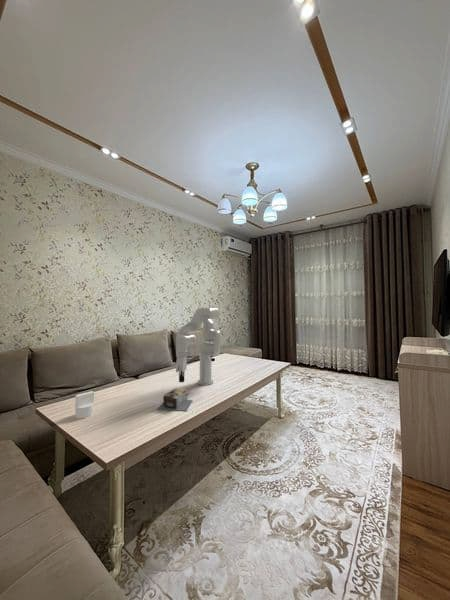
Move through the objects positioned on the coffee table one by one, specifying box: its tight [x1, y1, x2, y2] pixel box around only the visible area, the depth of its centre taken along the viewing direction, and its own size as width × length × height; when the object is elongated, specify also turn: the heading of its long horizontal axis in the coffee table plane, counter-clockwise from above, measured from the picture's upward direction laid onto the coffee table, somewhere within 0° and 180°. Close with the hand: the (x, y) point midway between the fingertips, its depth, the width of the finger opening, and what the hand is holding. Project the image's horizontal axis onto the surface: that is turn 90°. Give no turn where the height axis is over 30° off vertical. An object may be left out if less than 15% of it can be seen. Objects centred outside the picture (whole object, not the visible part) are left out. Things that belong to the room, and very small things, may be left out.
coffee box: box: [162, 387, 189, 409], centre depth 156 cm, size 9×6×16 cm
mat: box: [156, 399, 193, 412], centre depth 154 cm, size 16×18×1 cm
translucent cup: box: [74, 390, 95, 419], centre depth 139 cm, size 9×9×12 cm
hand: (181, 381), depth 164 cm, fingers closed
